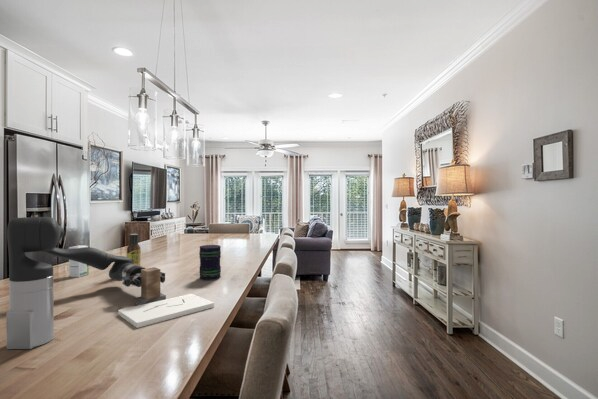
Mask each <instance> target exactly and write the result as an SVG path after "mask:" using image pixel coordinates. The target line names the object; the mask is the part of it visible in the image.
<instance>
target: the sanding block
mask: <svg viewBox="0 0 598 399" xmlns="http://www.w3.org/2000/svg"><path fill="white" fill-rule="evenodd" d="M160 272H161V268H158V267H148V268H146V269H141V287H140V296H137V297H135V304H136V305H137V306H139V305H143V304H147V303H152V302H156V301H161V300H165V299H167V295H166V294H164V293H163V292H161V282H160Z"/></svg>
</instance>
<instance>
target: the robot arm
mask: <svg viewBox="0 0 598 399" xmlns="http://www.w3.org/2000/svg"><path fill="white" fill-rule="evenodd" d="M6 235H7V236H6V237H7V238H6V239H7V249H8V272H9V273H8V276H9V277H8V281H9V282H8V286H9V287H8V288H9V289H8V291H9V294H8V295H9V296H8V297H9V298H8V300H9V301H8V303H9V305H8V306H9V310H8V311H6V316H5V319H6V322H5V323H6V350H31V349H33V348H35V347H39V346H42V345H44V344H48V343H49V342H51V341H52V340H53V339H54V338H55V334H54V333H55V332H54V331H55V329H54V328H55V324H54V322H55V321H54V320H55V317H54V313H55V311H54V310H55V308H54V267H53V266H54V265H52V264H50V263H48V262H42V261H38V260H33V259H31V258H29V256H27V255H26V254H25V253H36V252H37V253H38V252H40V253H44V254H47V255H51V256H52V257H53V256H54V257H58V258H61V259H65V260H68V261H69V260H73V261H77V262H80V263H83V264H86V265H88V267H92V268H93V269H97V270H100V271H105V270H106V269H107V268H109V266H111V265H112V266H111V267H110V269H109V270H108V276H109V277H108V278H110V279H111V280H113V281H116V282H122V283H121V284H122V285H123V286H125V287H129V288H130V287H131V285H132V287H137V288H141V269H147V268H146V267H144V266H142V265H140V266H139V265H135V264H133V261H132V260H131V259H130V258H128V257H127V256H122V255H114V254H111V253H108V252H105V251H103V250H100V249H97V248H95V247H90V246H88V247H85V248H77V249H69V248H60V247H57V245H58V243H59V242H60V241H61V239H62V237H64V235H65V230H64V227H63V226H61V225H60V224H59V223H58V221H57V220H56V219H55V218H53V217H50V216H36V217H35V216H34V217H33V216H29V217H27V216H26V217H13V218H11V220H9V222H8V224H7V231H6ZM165 281H166V272H163V271H160V284H161V283H162V284H163V283H165Z"/></svg>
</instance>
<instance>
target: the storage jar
mask: <svg viewBox="0 0 598 399" xmlns="http://www.w3.org/2000/svg"><path fill="white" fill-rule="evenodd" d="M221 248H222V247H221V245H220V244H219V245H218V244H206V245H205V244H204V245H201V246H199V272H198V273H199V279H200V280H201V281H214V280H219V279H221V277H222V276H221V273H222V272H221V271H222V266H221V257H222V256H221V254H222V252H221Z"/></svg>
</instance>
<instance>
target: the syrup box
mask: <svg viewBox="0 0 598 399" xmlns="http://www.w3.org/2000/svg"><path fill="white" fill-rule="evenodd" d="M85 247H89V246H88V245H86V244H85V245H84V244H81V245H79V244H78V245H74V246H69V247H68V249H77V248H85ZM68 263H69V264H68V265H69V266H68V267H69V268H68V269H69V270H68V271H69V272H68V273H69V277H70V278H71V277H72V278H80V277H85V276H88V275H89V274H90V273H89V265H86V264H83V263H80V262H77V261H73V260H68Z"/></svg>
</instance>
